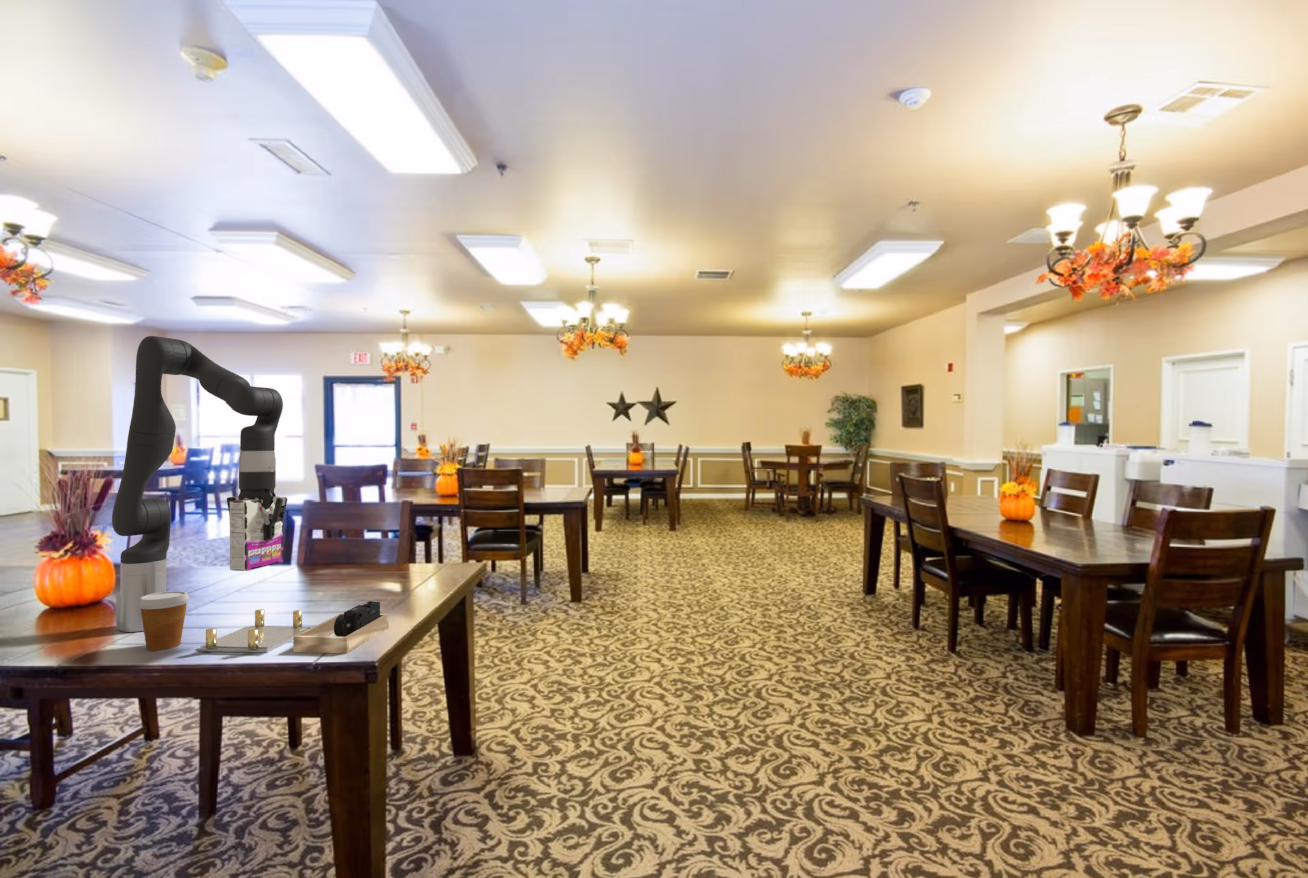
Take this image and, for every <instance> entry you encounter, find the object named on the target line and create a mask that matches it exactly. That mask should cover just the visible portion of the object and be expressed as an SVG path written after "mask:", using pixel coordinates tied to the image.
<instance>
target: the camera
mask: <svg viewBox="0 0 1308 878" xmlns="http://www.w3.org/2000/svg"><path fill="white" fill-rule="evenodd" d="M343 613H344V614H341V613H339V614H340V615H339V614H338V615H339V616H338V617H337V618H336V620H335V623H334V633H333V634H334V635H335V637H346V636H348V635H349V634H351V633H353V632H355V631H357V630H358V629H360V628H362V627H364V626H365V625H367V624H369V623H371V622H373V621H374V620H376V619H378V618H380V614H381V602H380V601H372V600H370V601H367V603H363V604H358V605H356V606H354V607H351V608H349V609H348V610H346V611H344V612H343Z"/></svg>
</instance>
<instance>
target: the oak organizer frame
mask: <svg viewBox="0 0 1308 878" xmlns="http://www.w3.org/2000/svg"><path fill="white" fill-rule="evenodd" d="M340 614H344V612H342V613H339V614H337V615H335V616H334V617H331V618H329V619H327V620H325V621H323V622H320V623H319V624H317V625H315V626H312V627H311V628H310V629H308V630H306V631H304V632H302V633H300V634H298V635H296V636H294V637H293V640H292V642H293V644H292V645H293V647H292V649H293V651H292V652H293V653H316V654H317V653H320V654H321V653H322V654H349V653H350V652H351V651H353V650H355V649H357V648H358V647H359V646H361V645H363V644H364V643H366V642H368V641H370V639H372V638H374V637H375V636H377V635H379V634H381V633H383V632H384V631H385V630H387V629H389V627H390V626H389V616H390V615H389V613H380V618H378V619H376V620H374V621H373V622H371V623H369V624H367V625H365V626H364V627H362V628H360V629H358V630H357V631H355V632H353V633H351V634H349V635H348V636H346V637H338V636H330V635H332V634H335V633H334V623H335V620H336V618H337V617H338V616H339V615H340Z"/></svg>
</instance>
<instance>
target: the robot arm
mask: <svg viewBox="0 0 1308 878" xmlns="http://www.w3.org/2000/svg"><path fill="white" fill-rule="evenodd" d="M135 359H136V360H135V383H134V395H133V396H134V397H133V405H132V411H131V419H130V423H129V429H128V435H127V441H126V442H127V443H126V448H125V449H126V451H125V458H124V462H123V463H124V464H123V469H122V474H121V475H122V476H121V479H120V483H119V487H118V490H117V494H116V496H115V501H114V504H113V508H112V514H111V515H112V517H111V524H112V525H111V526H112V528H113V531H114V532H115V534H117V535H118V536H120V537H132V536H133V537H135V536H141V535H142V537H141V538H140V539H139V541H138V542H136V543H134V545H132V546H130V547H128V548H126V549H124V550H123V551H122V552H120V568H119V569H120V576H119V577H120V584H119V587H120V588H119V589H120V591H117V592H116V595H115V596H116V601H115V603H116V610H115V613H116V614H115V615H116V616H115V618H116V619H115V627H116V628H115V630H116V631H117V630H118V631H120V632H124V633H128V632H129V633H134V632H135V633H136V632H144V628H143V622H142V615H141V609H140V608H139V606H138V603H139V602H140V598H141V597H143V596H145V595H149V594H154V593H160V592H167V555H168V554H167V552H168V550H169V548H170V543H171V542H170V539H171V538H170V537H171V527H172V511H171V507H170V505H169V503H168V501H166V499H164V498H161V497H148V498H143V497H144V492H145V490H146V488H147V484H148V483H149V481H150V480H151V479H152V478H153V476H154V475H155V473H156V472H158V471H159V469H160V468H161V467H162V466H163V465H164V463H165V462H166V461H167V460H168V459H169V457H170V456H171V454H172V452H173V449H174V444H175V437H176V429H177V428H176V427H177V426H176V421H175V420H174V417H173V415H172V413H171V411H170V410H169V408H168V406H167V404H166V402H165V400H164V398H163V395H162V394H163V392H162V378H163V375H170V376H171V375H172V376H185V377H190V378H193V379H196V380H198V382H199V384H200V386H201V387H202V388H203V389H204V390H205V392H207V393H209V394H210V395H211V396H214V397H216V398H218V399H220V400H222V401H223V402H225V403H226V405H228V406H229V408H231V409H232V410H233V411H234V412H235V413H238V414H240V415H242V416H249V417H251V416H254V417H256V420H255V422H254V424H252V425H247V426H245V427H243V428H241V431H240V435H239V436H240V437H239V439H240V443H239V444H240V445H239V449H240V453H239V458H238V489H239V490H240V491H239V494H238V495H236V496H230V497H227V498H226V504H227V509H228V514H229V516H230V505H229V504H230V503H229V502H230V501H236V500H248V499H254V500H263V503H261V502H260V504H261V516H262V517H263V519H264V522H265V524H266V525H264V540H265V541H268V540H272V539H273V537H274V535H275V523H277V522H280V521H283V520H284V518H285V514H286V510H287V509H286V508H287V504H288V498H287V496H276V493H275V488H276V487H277V485H276V484H277V483H276V479H277V477H276V473H277V472H276V471H277V469H276V468H277V466H276V465H277V464H276V463H277V461H276V460H277V459H276V453H275V449H276V448H275V443H276V441H275V436H276V435H275V434H276V432H277V429H278V425H279V421H280V419H281V415H282V413H283V409H284V408H283V407H284V401H283V398H282V394H280V392H279V391H278V390H276V389H274V388H272V387H263V386H262V387H261V386H251V384H250V383H249V381H248V380H247V379H246V378H244V377H242V376H241V375H239V374H237V373H235V372H233V371H230V370H229V369H227V368H224V367H222V366H221V365H219V364H218V363H216V362H214V361H213V360H211V358H209V357H207V356H206V355H205V354H204V353H202V352H201V351H200V350H199V349H198V348H197V347H195V346H194V345H192V344H191V343H189V342H187V341H185V340H182V339H179V338H178V339H176V338H171V337H165V336H164V337H163V336H157V335H156V336H155V335H148V336H145V337H144V338H143V339H141V341H140V343H139V345H138V348H137V351H136V357H135ZM273 502H274V505H275V508H274V509H273V507H272V506H271V505H272V503H273ZM270 506H271V510H270V511H265V510H266V509H269V508H270Z"/></svg>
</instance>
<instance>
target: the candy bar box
mask: <svg viewBox="0 0 1308 878" xmlns="http://www.w3.org/2000/svg"><path fill="white" fill-rule="evenodd" d="M260 502H261V503H263V500H254V499H248V500H236V501H230V502H229V503H230V504H229V505H230V515H229V570H230V571H237V572H239V571H241V572H248V571H252V570H256V569H261V568H264V567H269V566H272V565H277V564H281V563H283V562H284V546H283V545H284V541H283V539H284V537H283V536H284V534H283V533H284V530H283V527H284V526H283V525H284V524H283V521H280V522H277V523H275V535H274V537H273V539H272V540H268V541H265V540H264V525H266V524H265V522H264V519H263V517H262V516H261V504H260ZM271 506H272V507H273V509H274V508H275V505H274V502H273V503H272V505H271ZM271 506H270V508H269V509H266V510H265V511H270V510H271Z"/></svg>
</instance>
